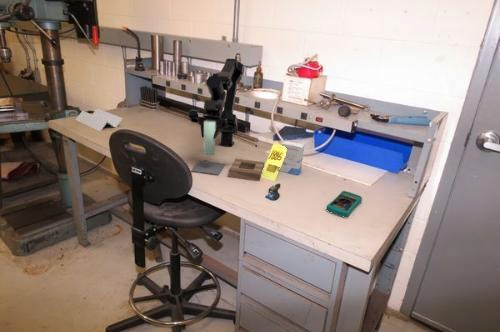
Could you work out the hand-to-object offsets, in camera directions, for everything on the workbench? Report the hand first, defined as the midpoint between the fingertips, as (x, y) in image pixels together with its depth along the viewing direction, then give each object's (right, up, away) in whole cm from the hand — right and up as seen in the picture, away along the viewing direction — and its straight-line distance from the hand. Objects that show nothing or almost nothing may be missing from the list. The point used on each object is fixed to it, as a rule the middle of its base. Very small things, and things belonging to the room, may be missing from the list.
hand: (208, 137), depth 131 cm
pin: (0, -6, +4) cm, 7 cm away
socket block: (+15, -13, +5) cm, 20 cm away
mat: (-1, -12, +7) cm, 13 cm away
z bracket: (-64, +12, +51) cm, 83 cm away
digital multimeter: (+48, -25, -15) cm, 56 cm away
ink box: (+32, -13, +9) cm, 36 cm away
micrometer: (+25, -21, -9) cm, 34 cm away
